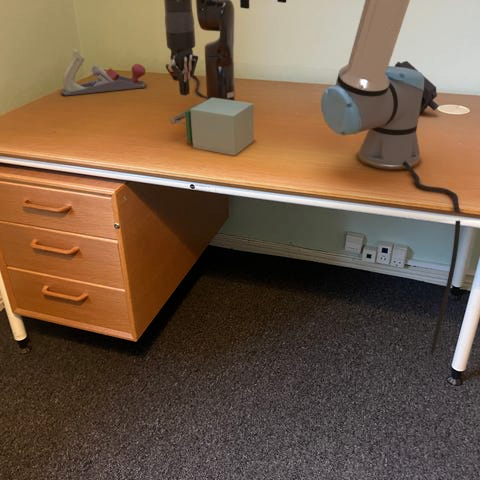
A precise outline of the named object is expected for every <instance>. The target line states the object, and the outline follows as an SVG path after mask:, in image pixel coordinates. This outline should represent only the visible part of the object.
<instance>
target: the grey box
mask: <svg viewBox="0 0 480 480" xmlns="http://www.w3.org/2000/svg"><path fill="white" fill-rule="evenodd" d="M204 101H205V102H203V101H202V102H203V103H201V102H200V103H201V104H199V103H198V104H199V105H198V104H196V105H197V106H196V105H195V106H196V107H194V106H193V107H194V108H192V107H191V108H192V109H190V108H189V109H190V111H191V126H192V140H193V142H192V148H193V149H197V150H203V151H209V152H214V153H219V154H224V155H229V156H237V155H238V154H239V153H240V152H241V151H243V150H244V149H246V148H247V147H248V146H249V145H251V144H252V143H253V142H255V125H254V124H255V117H254V116H255V114H254V113H255V107H254V106H255V105H254V103H253V102H247V101H239V100H235V101H233V100H226V99H219V98H210V99H208V100H207V99H206V100H204Z"/></svg>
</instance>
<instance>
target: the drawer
mask: <svg viewBox="0 0 480 480" xmlns="http://www.w3.org/2000/svg"><path fill="white" fill-rule="evenodd" d="M205 101H206V100H203V101H202V102H200V103H197V104H195V105H194V106H192V107H191V108H188V109H187V110H185V111H183V112H181V113H179V114H177V115H175V116H174V117H173V116H172V118H170V119H169V123H170V124H171V125H175V124H180V125H185V130H186V131H185V133H186V142H187V143H190V144H191V143H193V140H192V126H191V111H190V109H192V108H194V107H196V106H197V105H199V104H201V103H203V102H205ZM184 119H185V121H183V120H184Z"/></svg>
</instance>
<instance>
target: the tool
mask: <svg viewBox="0 0 480 480" xmlns="http://www.w3.org/2000/svg"><path fill="white" fill-rule="evenodd" d="M394 66H395V67H403V68H408V69H413V70H416V71H419V70H418V69H417V68H416V67H415V66H413V65H412V64H411V63H410V62H409V61H407V60H405V61H402V62H400V61H397V62H396V63H395V64H394ZM437 97H438V93H437V86H435V85H434V83H432V82H431V81H430V80H429V79H428V78H427V77H426V76H424V91H423V95H422V101H421V107H420V113H422V112H424V111H425V110H426V109H427V108H428V107H429V108H430V109H431V110H432V111H436V110H437V109H438V108H439V104H437V103H436V101H434V99H436V98H437Z"/></svg>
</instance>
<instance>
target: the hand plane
mask: <svg viewBox="0 0 480 480" xmlns="http://www.w3.org/2000/svg"><path fill="white" fill-rule="evenodd" d="M85 59H86V58H85V56H84V55H83V54H82V53H81V52H80V51H79V50H77V49H76V48H73V50H72V58H71V62H70V63H69V65H68V67H67V68H66V70H65V72H64V74H63V80H62V84H63V88H62V90H61V93H62V95H63V96H74V95H84V94H94V93H104V92H112V91H113V92H114V91H121V90H132V89H142V88H146V83H145V81H143V80H139V78H142V77H144V76H145V75H146V68H145V66H143V65H141V64H139V63H134V64H133V65H132V66H131V73H132V76H131V78H130V77H126V76H123V75H120V74H119V73H117V72H116V71H114V70H113V69H112V68H111V67H109V68H108V70H107V71H105V70H104V69H103V68H102V67H100V65H94V66H92V68H91V70H90V72H91V75H93V76H94V77H97V78H95V79H90V81H89V82H86V83H80V84H78V83H77V82H76V81H75V78H76V74H77V72H78V71H79V69H80V68H81V66H82V65H83V63H84V61H85Z"/></svg>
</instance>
